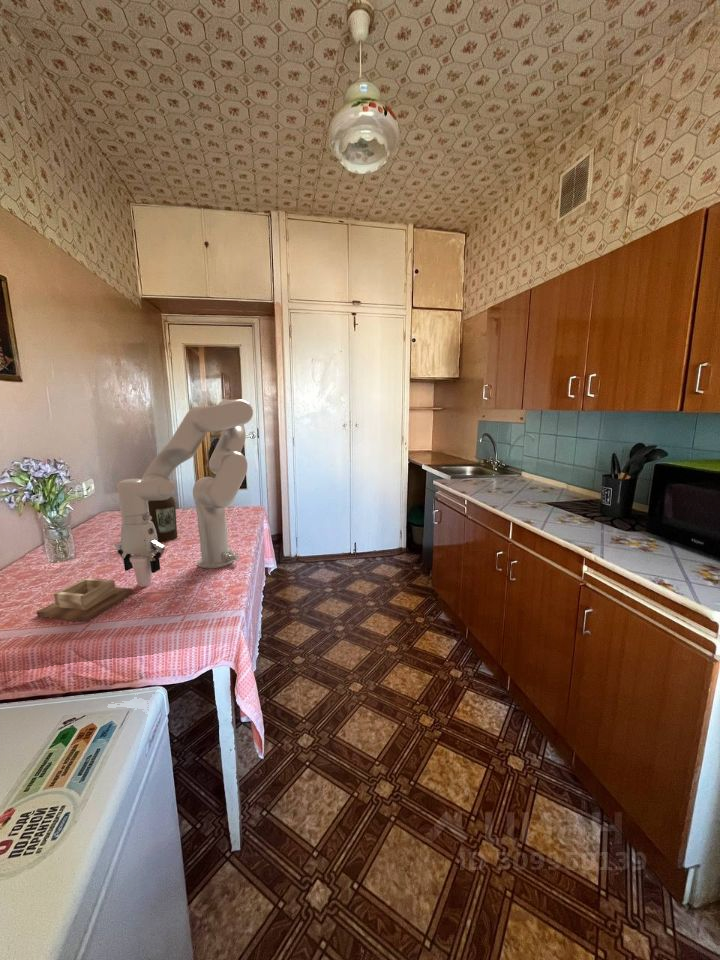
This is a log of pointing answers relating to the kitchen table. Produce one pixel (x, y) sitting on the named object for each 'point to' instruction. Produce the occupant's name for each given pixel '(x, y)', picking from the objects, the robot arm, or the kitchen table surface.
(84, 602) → the wooden open box
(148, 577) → the smoothie
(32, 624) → the kitchen table surface
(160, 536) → the olive oil
